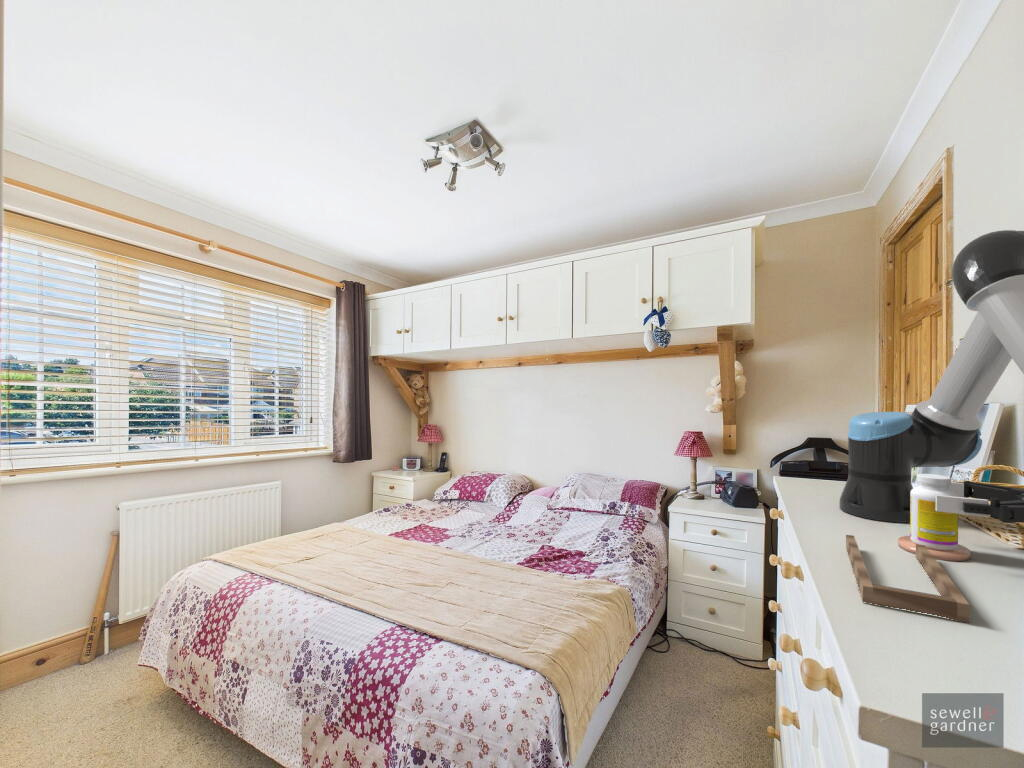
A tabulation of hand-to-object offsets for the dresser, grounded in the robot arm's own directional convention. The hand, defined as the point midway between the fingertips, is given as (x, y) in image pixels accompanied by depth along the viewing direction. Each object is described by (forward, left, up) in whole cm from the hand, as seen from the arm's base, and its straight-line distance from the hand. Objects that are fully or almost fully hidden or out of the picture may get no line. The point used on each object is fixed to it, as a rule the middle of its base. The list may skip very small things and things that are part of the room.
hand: (926, 494), depth 88 cm
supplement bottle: (0, +1, -10) cm, 10 cm away
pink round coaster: (0, +1, -10) cm, 10 cm away
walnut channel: (+18, -7, -10) cm, 22 cm away
